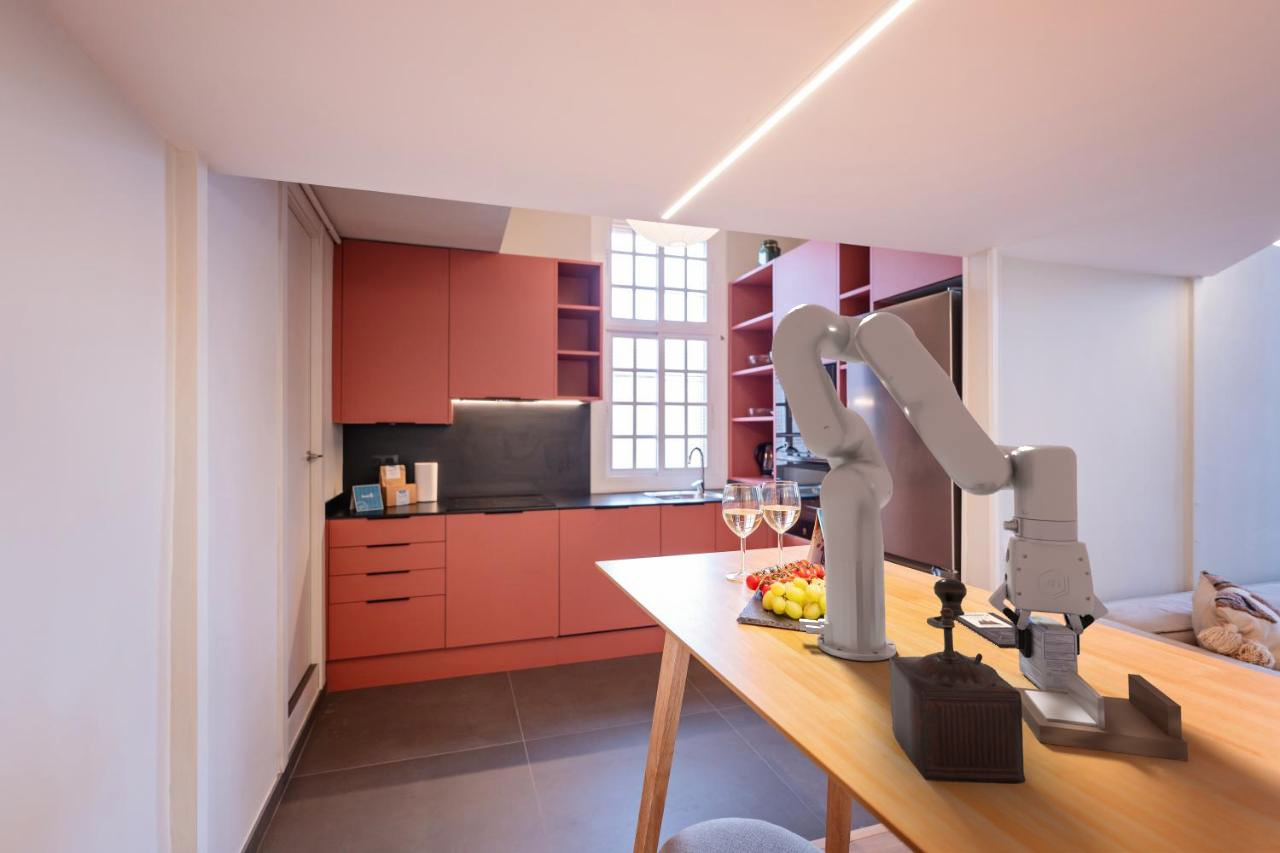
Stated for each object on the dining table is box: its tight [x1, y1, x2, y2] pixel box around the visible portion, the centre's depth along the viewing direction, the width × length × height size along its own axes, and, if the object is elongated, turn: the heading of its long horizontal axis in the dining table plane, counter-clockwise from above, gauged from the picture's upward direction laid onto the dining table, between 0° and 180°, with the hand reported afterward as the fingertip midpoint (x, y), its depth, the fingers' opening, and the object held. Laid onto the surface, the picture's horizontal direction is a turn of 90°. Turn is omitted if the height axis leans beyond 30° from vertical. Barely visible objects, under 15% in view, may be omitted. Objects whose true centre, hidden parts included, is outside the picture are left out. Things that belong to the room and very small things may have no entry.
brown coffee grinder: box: [889, 577, 1026, 784], centre depth 68 cm, size 16×11×18 cm
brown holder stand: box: [1013, 668, 1189, 762], centre depth 71 cm, size 14×11×6 cm
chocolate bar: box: [955, 612, 1016, 648], centre depth 108 cm, size 9×1×18 cm
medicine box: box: [1018, 614, 1079, 692], centre depth 84 cm, size 8×4×9 cm, turn 168°
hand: (1046, 655), depth 84 cm, fingers closed on medicine box, 4 cm apart
